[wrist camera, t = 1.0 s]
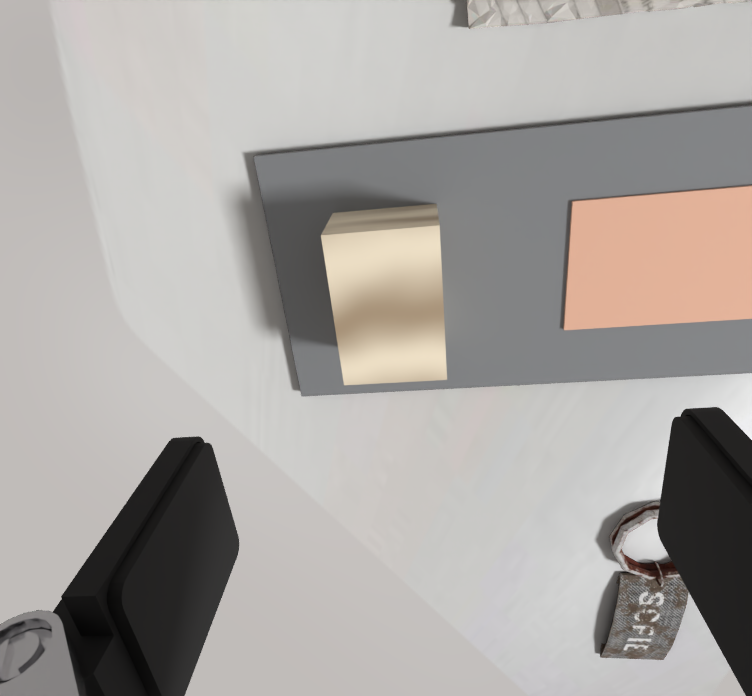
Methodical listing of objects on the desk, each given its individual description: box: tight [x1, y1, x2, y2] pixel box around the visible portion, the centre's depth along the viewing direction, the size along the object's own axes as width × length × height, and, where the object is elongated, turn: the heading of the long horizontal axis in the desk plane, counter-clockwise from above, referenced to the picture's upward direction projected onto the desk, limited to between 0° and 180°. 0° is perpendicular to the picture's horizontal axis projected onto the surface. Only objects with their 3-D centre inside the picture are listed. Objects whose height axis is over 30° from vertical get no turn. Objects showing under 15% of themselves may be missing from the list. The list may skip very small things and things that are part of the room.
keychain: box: [600, 502, 689, 660], centre depth 45 cm, size 8×19×2 cm, turn 3°
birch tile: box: [321, 204, 447, 385], centre depth 31 cm, size 9×6×4 cm, turn 6°
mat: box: [254, 105, 752, 396], centre depth 32 cm, size 16×30×1 cm, turn 96°
